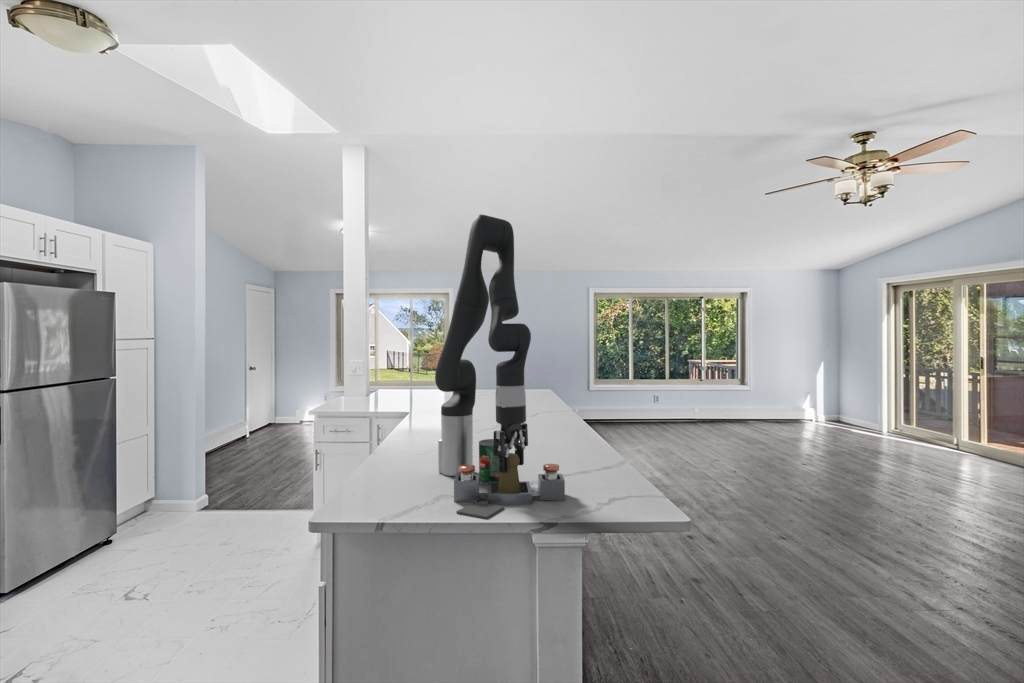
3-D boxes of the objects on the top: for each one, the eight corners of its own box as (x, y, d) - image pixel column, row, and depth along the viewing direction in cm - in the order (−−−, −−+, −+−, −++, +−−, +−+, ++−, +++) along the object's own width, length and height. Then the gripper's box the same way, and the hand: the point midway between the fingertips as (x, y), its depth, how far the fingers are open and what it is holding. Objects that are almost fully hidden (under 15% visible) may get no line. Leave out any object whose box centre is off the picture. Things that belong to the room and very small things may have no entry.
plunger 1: (455, 495, 133) (455, 467, 132) (464, 491, 136) (464, 463, 136) (469, 497, 131) (469, 469, 131) (478, 493, 134) (478, 465, 134)
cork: (524, 495, 136) (524, 452, 135) (516, 502, 130) (516, 457, 130) (502, 493, 138) (501, 450, 137) (493, 499, 132) (493, 455, 132)
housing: (453, 504, 128) (453, 484, 128) (456, 491, 139) (456, 472, 139) (565, 503, 129) (565, 482, 129) (560, 490, 140) (560, 471, 139)
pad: (456, 513, 122) (456, 511, 122) (475, 503, 129) (475, 501, 129) (486, 519, 118) (486, 516, 118) (504, 508, 125) (504, 506, 125)
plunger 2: (540, 494, 133) (540, 466, 133) (547, 490, 137) (547, 463, 137) (555, 496, 131) (555, 468, 131) (561, 492, 135) (561, 464, 135)
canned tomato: (513, 481, 149) (513, 441, 149) (493, 487, 143) (493, 446, 143) (493, 475, 154) (493, 437, 154) (472, 481, 148) (472, 441, 148)
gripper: (510, 400, 142) (511, 461, 142) (483, 406, 129) (484, 473, 129) (536, 401, 138) (537, 463, 138) (511, 407, 126) (512, 476, 126)
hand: (511, 468), depth 134 cm, fingers open, 8 cm apart
